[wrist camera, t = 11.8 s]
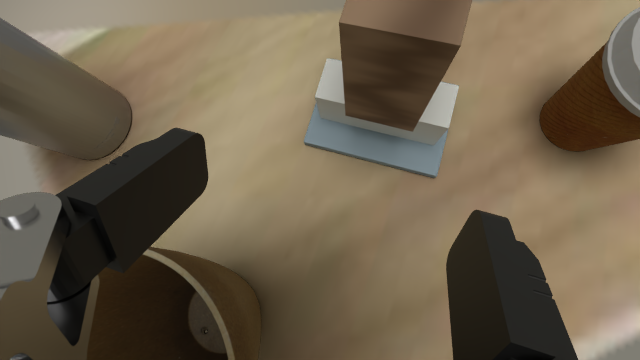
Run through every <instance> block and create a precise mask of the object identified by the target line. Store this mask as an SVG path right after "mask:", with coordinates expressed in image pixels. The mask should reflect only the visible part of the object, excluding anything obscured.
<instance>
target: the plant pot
mask: <svg viewBox="0 0 640 360" xmlns="http://www.w3.org/2000/svg"><path fill="white" fill-rule="evenodd" d="M98 276H99V280H100V281H99V288H98V294H97V299H96V305H95V310H94V315H93V321H92V326H91V332H90V337H89V342H88V348H87V360H258V355H259V348H260V341H261V312H260V307H259V302H258V299H257V297H256V295H255V293H254V291H253V289H252V288H251V287H250V285H249V284H248V283H247V282H246V281H245V280H244V279H243V278H241V277H240V276H239V275H237V274H236V273H234V272H233V271H231V270H229V269H227V268H225V267H223V266H221V265H219V264H217V263H214V262H211V261H209V260H206V259H203V258H199V257H196V256H192V255H189V254H185V253H181V252H177V251H171V250H166V249H160V248H153V247H149V248H148V249H147V250H146V251H145V252H144V253H143V254H142V255H141V256H140V257H139V258H138V259H137V260H136V261H135V262H134V263H133V264H132V265H131V266H130V267H129V268H128V269H127V270H126V271H125V272H124V273H121V272H118V271H115V270H113V269H110V268H107V267H105V268H104V269H103V270H102V271H101V272H100V273H99V274H98ZM205 330H208V332H207V333H206V334H205V333H204V331H205Z"/></svg>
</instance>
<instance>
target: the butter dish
mask: <svg viewBox="0 0 640 360" xmlns="http://www.w3.org/2000/svg"><path fill="white" fill-rule="evenodd" d="M458 88H459V85H455V84H450V83H445V82H440V84H439V86H438V87H437V89H436V91H435V93H434V95H433V96H432V98H431V100H430V102H429V103H428V105H427V107H426V109H425V111H424V112H423V114H422V116H421V118H420V120H419V121H418V123H417V125H416V127H415V129H414V130H413V132H411V131H407V130H403V129H399V128H395V127H391V126H387V125H382V124H378V123H374V122H370V121H366V120H362V119H358V118H353V117H349V116H345V101H344V87H343V72H342V61H340V60H335V59H331V58H330V59H329V58H327V61H326V64H325V67H324V70H323V73H322V76H321V79H320V82H319V86H318V89H317V92H316V95H315V99H316V105H315V108H314V111H313V114H312V117H311V120H310V123H309V127H308V130H307V133H306V136H305V139H304V143H305V145H308V146H312V147H316V148H320V149H324V150H328V151H332V152H335V153H339V154H343V155H347V156H351V157H355V158H359V159H362V160H366V161H370V162H374V163H378V164H382V165H386V166H389V167H393V168H397V169H401V170H405V171H409V172H413V173H416V174H420V175H424V176H428V177H432V178H435V177H436V176H437V174H438V170H439V165H440V161H441V157H442V153H443V149H444V145H445V141H446V137H447V132H448V128H449V125H450V121H451V117H452V113H453V109H454V105H455V100H456V96H457V92H458Z"/></svg>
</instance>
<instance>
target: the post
mask: <svg viewBox="0 0 640 360" xmlns="http://www.w3.org/2000/svg"><path fill="white" fill-rule="evenodd" d="M471 3H472V0H346V2H345V5H344V8H343V12H342V15H341V18H340V21H339V28H340V43H341V58H342V72H343V87H344V101H345V116H349V117H353V118H358V119H362V120H366V121H370V122H374V123H378V124H382V125H387V126H391V127H395V128H399V129H403V130H407V131H411V132H413V130H414V129H415V127H416V125H417V123H418V121H419V120H420V118H421V116H422V114H423V112H424V111H425V109H426V107H427V105H428V103H429V102H430V100H431V98H432V96H433V95H434V93H435V91H436V89H437V87H438V86H439V84H440V82H441V80H442V78H443V77H444V75H445V73H446V71H447V69H448V68H449V66H450V64H451V62H452V60H453V59H454V57H455V55H456V53H457V51H458V50H459V48H460V46H461V42H462V38H463V34H464V30H465V26H466V22H467V18H468V14H469V10H470V6H471Z"/></svg>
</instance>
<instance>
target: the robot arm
mask: <svg viewBox="0 0 640 360" xmlns="http://www.w3.org/2000/svg"><path fill="white" fill-rule="evenodd" d="M130 124H131V109H130V106H129V103H128V102H127V100H126V98H125V97H124V96H123V95H122V94H121V93H120V92H118V91H117V90H115V89H113V88H112V87H110V86H109V85H107V84H105V83H104V82H102V81H101V80H99V79H97V78H96V77H94V76H93V75H91V74H90V73H88V72H87V71H85V70H83V69H82V68H80V67H79V66H77V65H75V64H74V63H72V62H70V61H69V60H67V59H66V58H64V57H62V56H61V55H59V54H58V53H56V52H54V51H53V50H51V49H50V48H48V47H46V46H45V45H43V44H42V43H40V42H38V41H37V40H35V39H34V38H32V37H30V36H29V35H27V34H25V33H24V32H22V31H21V30H19V29H17V28H16V27H14V26H13V25H11V24H9V23H8V22H6V21H5V20H3V19H1V18H0V135H2V136H5V137H9V138H12V139H16V140H19V141H22V142H26V143H29V144H33V145H36V146H40V147H43V148H46V149H49V150H53V151H56V152H60V153H63V154H67V155H70V156H73V157H77V158H80V159H87V160H91V159H98V158H101V157H104V156H106V155H108V154H110V153H111V152H113V151H114V150H115V149H116V148H117V147H118V146H119V145H120V144H121V143H122V142H123V140H124V139H125V137H126V135H127V133H128V131H129V128H130ZM207 182H208V169H207V160H206V150H205V142H204V138H203V136H202V135H201V134H198V133H195V132H191V131H187V130H184V129H180V128H173V129H171V130H170V131H168V132H166V133H165V134H163V135H162V136H160V137H159V138H157V139H154V140H151V141H148V142H145V143H142V144H139V145H137V146H135V147H133V148H132V149H130V150H128V151H127V152H125V153H124V154H122V157H121V156H119V157H117V158H115V159H114V160H112V161H111V162H110V164H106V165H104V166H102V167H101V168H99V169H98V170H96V171H94V172H93V173H91V174H89V175H88V176H86V177H85V178H83V179H81V180H80V181H78V182H76V183H75V184H73V185H72V186H70V187H68V188H67V189H65V190H63V191H62V192H60V193H58V194H57V195H53V194H50V193H44V192H34V193H25V194H20V195H15V196H13V197H9V198H6V199H3V200H1V201H0V360H87V348H88V342H89V337H90V332H91V326H92V321H93V315H94V310H95V305H96V299H97V294H98V288H99V281H100V280H99V276H98V274H99V273H100V272H101V271H102V270H103V269H104V268H105V267H107V268H110V269H113V270H115V271H118V272H121V273H124V272H125V271H126V270H127V269H128V268H129V267H130V266H131V265H132V264H133V263H134V262H135V261H136V260H137V259H138V258H139V257H140V256H141V255H142V254H143V253H144V252H145V251H146V250H147V249H148V248H149V247H150V246H151V245H152V244H153V243H154V242H155V241H156V240H157V239H158V238H159V237H160V236H161V235H162V234H163V233H164V232H165V231H166V230H167V229H168V228H169V227H170V226H171V225H172V224H173V223H174V222H175V221H176V220H177V219H178V218H179V217H180V216H181V215H182V214H183V213H184V212H185V211H186V210H187V209H188V208H189V207H190V205H191V204H192V203H193V202H194V201H195V200H196V199H197V198H198V197H199V196H200V195H201V194H202V193H203V192H204V190H205V188H206V185H207ZM446 272H447V284H448V297H449V310H450V323H451V336H452V348H453V360H578V358H577V355H576V353H575V350H574V348H573V345H572V343H571V340H570V338H569V335H568V333H567V330H566V328H565V325H564V323H563V320H562V318H561V315H560V313H559V310H558V308H557V305H556V303H555V300H554V299H552V296H553V295H552V293H551V290H550V288H549V285H548V283H546V282H545V281H546V278H545V275H544V272H543V270H542V267H541V265H540V262H539V260H538V259H537V258H536V257H535V255H534V254H533V253H532V252H531V251H530V249H529V248H528V247H527V246H526V245H525V243H524V242H520V241H516V239H515V236H514V233H513V230H512V227H511V224H510V222H509V220H508V219H507V218H506V217H502V216H498V215H495V214H491V213H487V212H484V211H480V210H474V211H473V212H472V213H471V215H470V216H469V218H468V219H467V221H466V223H465V225H464V226H463V228H462V230H461V231H460V233H459V235H458V236H457V238H456V240H455V242H454V243H453V245H452V247H451V249H450V251H449V254H448V258H447V264H446Z"/></svg>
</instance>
